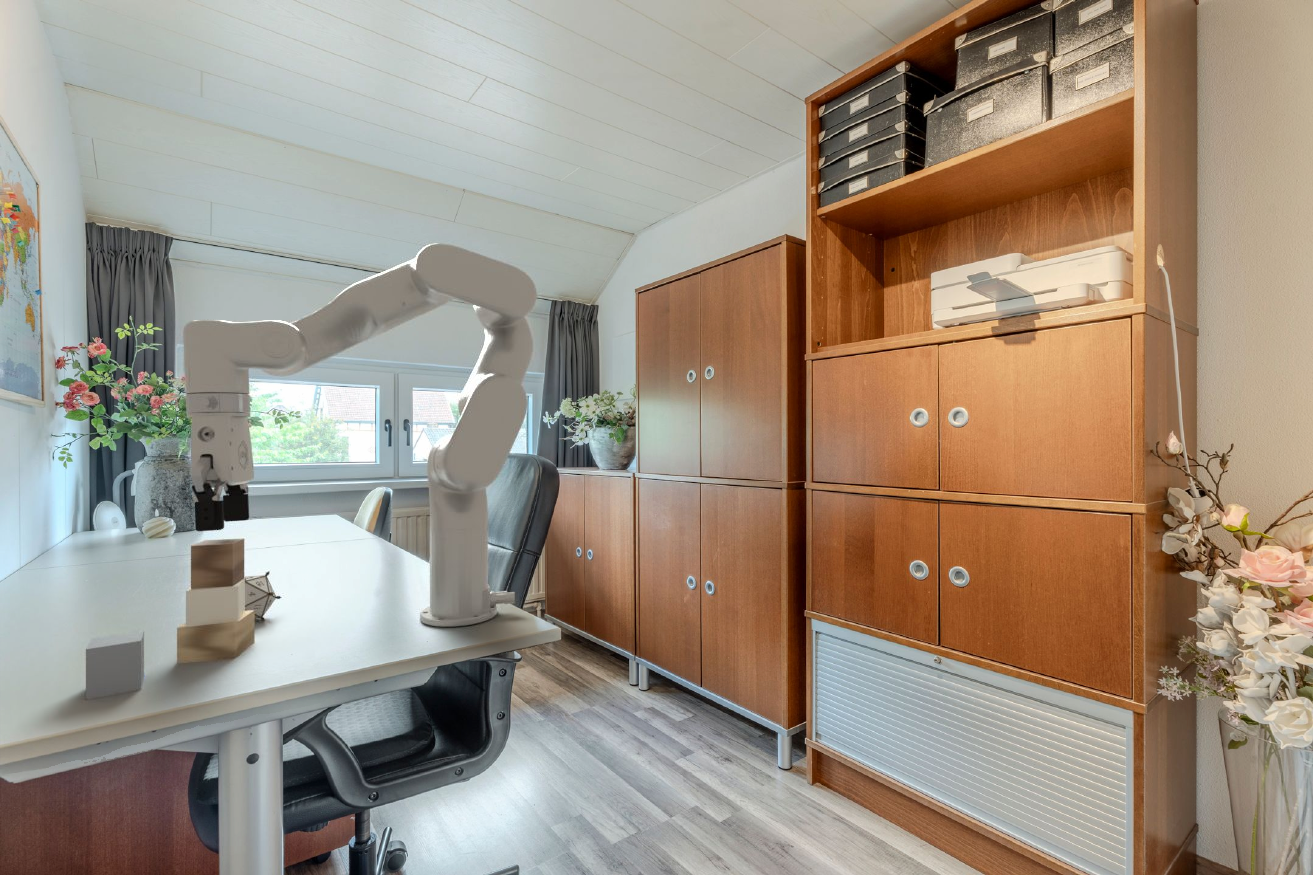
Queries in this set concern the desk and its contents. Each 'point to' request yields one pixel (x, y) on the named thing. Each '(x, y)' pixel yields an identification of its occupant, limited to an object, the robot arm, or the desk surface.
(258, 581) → the game die
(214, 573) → the walnut block
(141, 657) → the slate block
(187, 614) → the tower top
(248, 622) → the tower base
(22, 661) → the desk surface
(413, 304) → the robot arm
